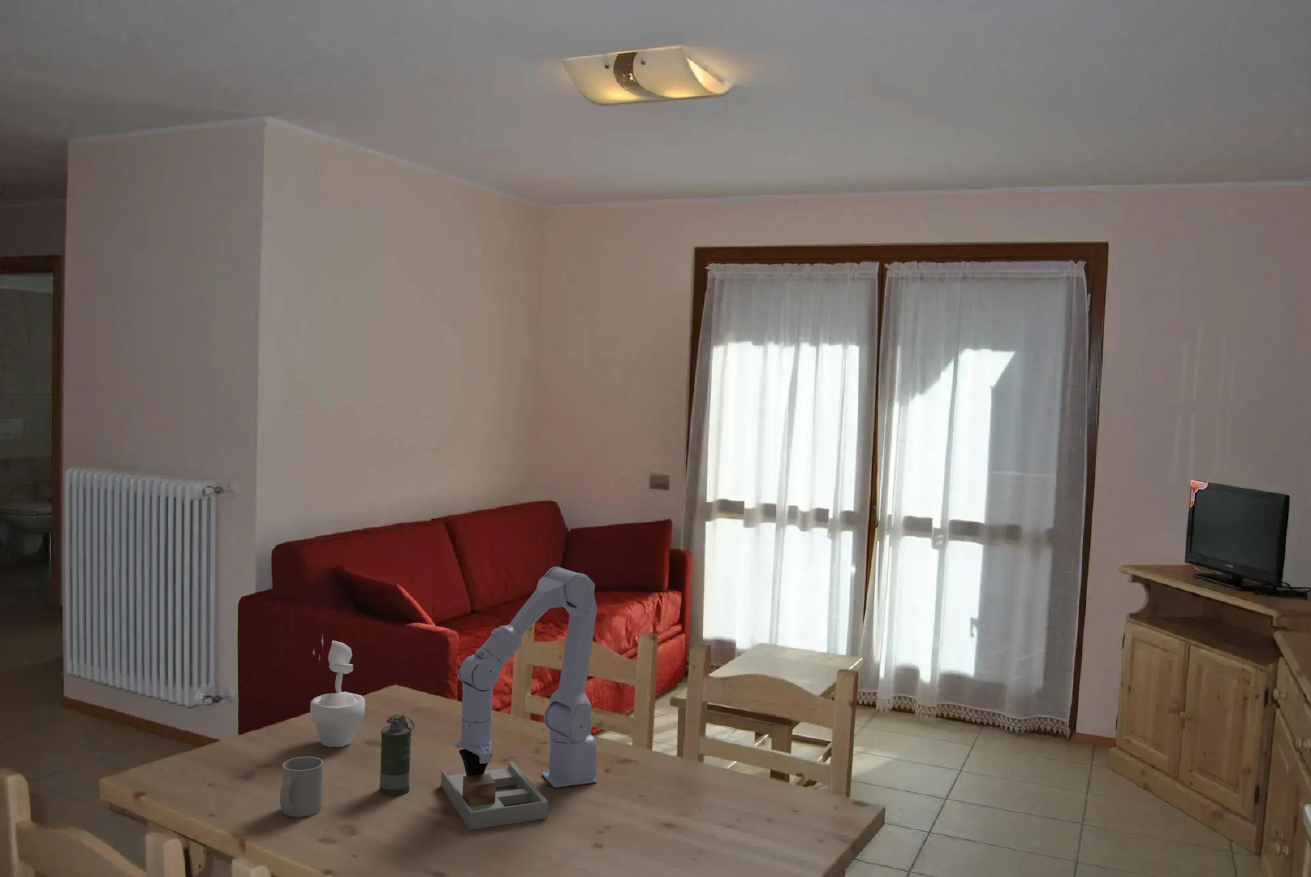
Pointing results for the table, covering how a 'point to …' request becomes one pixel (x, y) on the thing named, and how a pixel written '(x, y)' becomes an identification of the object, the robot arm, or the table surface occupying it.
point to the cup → (302, 786)
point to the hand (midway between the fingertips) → (474, 787)
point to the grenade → (395, 756)
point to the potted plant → (337, 703)
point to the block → (479, 789)
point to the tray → (499, 799)
